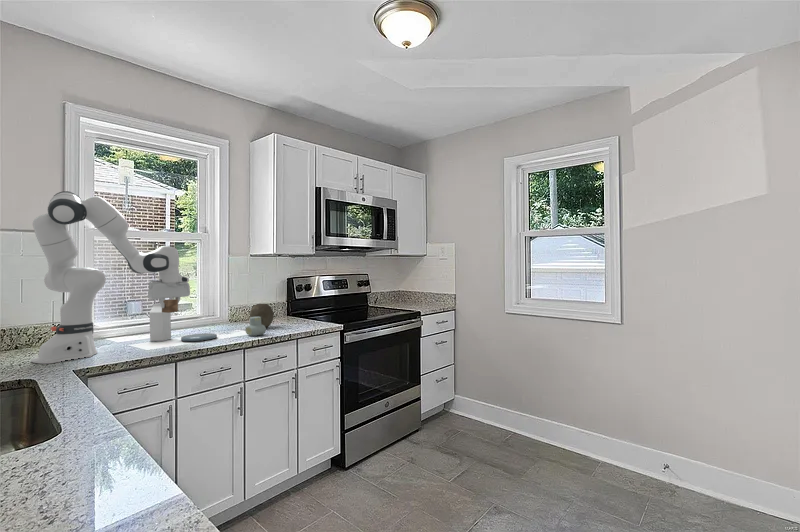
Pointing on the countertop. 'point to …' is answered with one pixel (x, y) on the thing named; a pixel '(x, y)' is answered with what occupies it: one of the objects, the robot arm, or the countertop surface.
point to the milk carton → (159, 324)
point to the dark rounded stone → (263, 313)
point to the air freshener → (255, 327)
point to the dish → (198, 337)
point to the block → (170, 305)
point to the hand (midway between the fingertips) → (169, 307)
